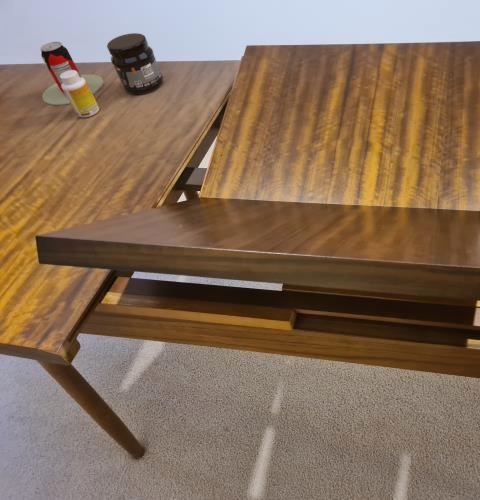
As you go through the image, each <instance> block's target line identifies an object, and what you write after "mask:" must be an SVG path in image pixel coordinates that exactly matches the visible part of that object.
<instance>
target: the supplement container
mask: <svg viewBox="0 0 480 500" xmlns="http://www.w3.org/2000/svg"><path fill="white" fill-rule="evenodd" d="M106 48H107V50H108V52H109V54H110V55H111V57H110V62H111V64H112V65H113V68H114V69H115V72H116V74H117V76H118V78H119V81H120V82H121V85H122V87H123V89H124V91H125V92H126V93H128V94H130V95H144V94H150V93H151V92H154V91H155V90H158V89H159V88H160V87H161V85H163V82H164V76H163V74H162V72H161V70H160V66H159V64H158V61H157V60H156V56H155V54H154V50H153V48H152V47H151V46H149V42H148V40H147V37H146V35H144V34H143V33H137V32H136V33H135V32H132V33H126V34H122V35H119V36H116V37H114V38H112V39H111V40H110V41H108V42H107V45H106Z"/></svg>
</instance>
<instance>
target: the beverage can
mask: <svg viewBox="0 0 480 500" xmlns="http://www.w3.org/2000/svg"><path fill="white" fill-rule="evenodd" d="M39 51H41V52H40V53H41V54H40V55H41V59H42V61H43V62H44V64H45V66H46V68H47V70H48V71H49V73H50V74H51V77H52V78H53V80H54V81H55V82H54V83H57V85H58V87H59V89H60V90H61V92H63V93H64V91H63V89H62V87H61V85H62V83H63V82H62V80H61V78H60V75H61V74H62V73H63V72H66V71H69V70H75V71H77V73H78V75H79V77H81V75H82V74H81V73H80V71H79V69H78V67H77V66H76V63H75V62H74V59H73V58H72V56H71V54H70V52H69V50H68V48H67V47H65V46H64V45H63V44H62V42H60V41H51V42H48V43H44V44H43V45H41V47H39Z"/></svg>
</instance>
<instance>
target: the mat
mask: <svg viewBox="0 0 480 500" xmlns="http://www.w3.org/2000/svg"><path fill="white" fill-rule="evenodd" d="M80 75H81V77H82V78H84V79H85V81H86V83H87V85H88V87H89V89H90V90H91V92H92V94H93V96H94V95H96V94H97V93H98V92H99V91H100V90H102V88H103V86H104V83H105V82H104V80H103V78H102V77H101V76H99V75H96V74H89V73H88V74H80ZM41 97H42V101H43V102H44V103H45V104H48V105H51V106H66V105H71V103H70V102H69V100H68V98H67V96H66V95H65V93H63V92H61V90H60V89H59V87H58V85H57V83H56V82H54V83H53V84H51V85H50V86H49V87H48V88H46V89H45V90H44V91H43V92H42V96H41Z"/></svg>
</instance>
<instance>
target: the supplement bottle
mask: <svg viewBox="0 0 480 500" xmlns="http://www.w3.org/2000/svg"><path fill="white" fill-rule="evenodd" d="M60 78H61V80H62V82H63V83H62V85H61V87H62V89H63V91H64V93H65V95H66V96H67V98H68V100H69V102H70V103H71V104H70V105H71V107H72V109H73V110H74V112H75V114H76V116H77V117H79V118H83V119H84V118H90V117H93V116H95V115H96V114H97V113H99V111H100V106H99V104H98V102H97V100H96V98H95V96H94V95H93V94H92V92H91V90H90V89H89V87H88V85H87V83H86V81H85V79H84V78H82V77H79V75H78V73H77V71H75V70H69V71H66V72H63V73H62V74H61V75H60Z"/></svg>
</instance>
